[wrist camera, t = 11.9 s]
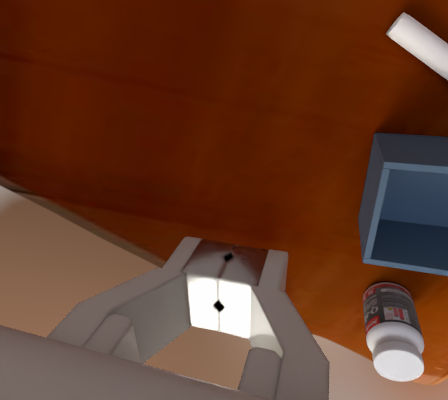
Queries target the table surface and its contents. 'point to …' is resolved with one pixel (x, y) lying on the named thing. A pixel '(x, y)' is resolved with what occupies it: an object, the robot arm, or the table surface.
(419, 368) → the pill bottle
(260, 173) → the table surface
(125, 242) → the table surface
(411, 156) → the blue box
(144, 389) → the robot arm
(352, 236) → the table surface
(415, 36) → the marker
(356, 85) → the table surface
